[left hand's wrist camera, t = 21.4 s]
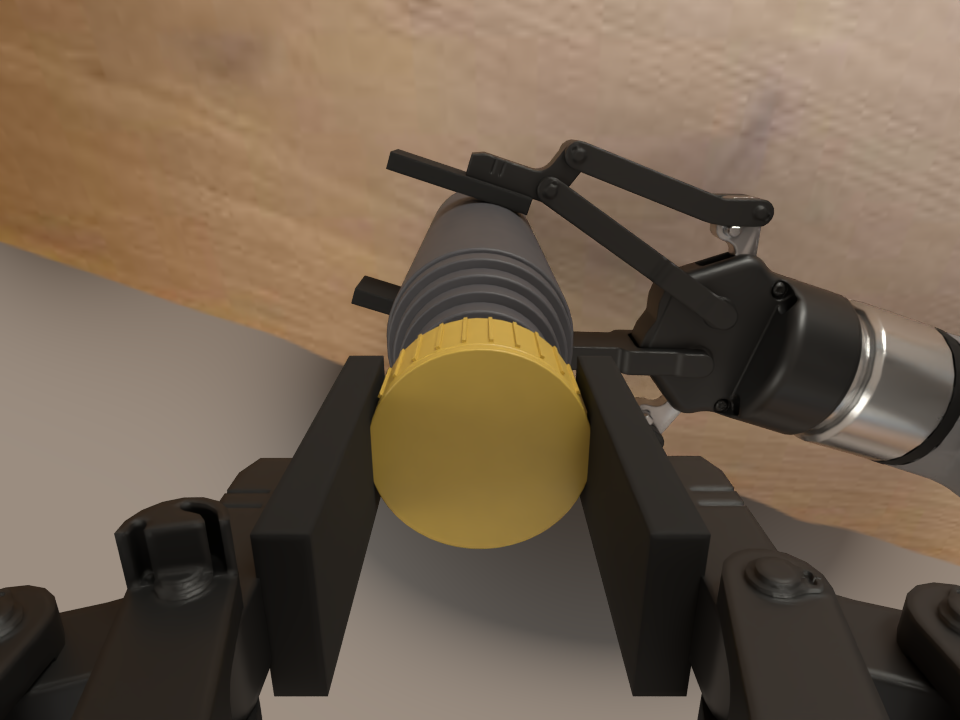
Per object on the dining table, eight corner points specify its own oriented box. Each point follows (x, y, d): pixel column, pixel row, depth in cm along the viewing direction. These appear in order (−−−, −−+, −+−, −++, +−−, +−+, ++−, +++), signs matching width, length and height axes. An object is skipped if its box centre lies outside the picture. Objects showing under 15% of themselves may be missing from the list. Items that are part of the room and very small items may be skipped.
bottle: (413, 215, 36) (290, 385, 13) (502, 168, 35) (545, 258, 12) (459, 300, 38) (426, 587, 14) (545, 257, 37) (657, 490, 14)
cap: (383, 305, 14) (367, 335, 12) (595, 324, 14) (614, 357, 12) (375, 489, 15) (360, 542, 13) (565, 505, 15) (577, 559, 13)
